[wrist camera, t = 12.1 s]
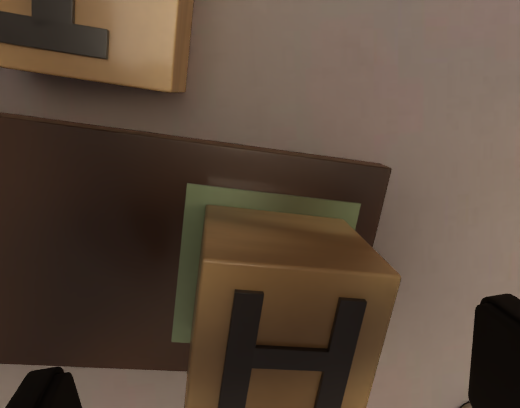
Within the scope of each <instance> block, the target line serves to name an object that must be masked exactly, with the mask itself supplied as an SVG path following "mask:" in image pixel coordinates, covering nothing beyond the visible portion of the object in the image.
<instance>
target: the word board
mask: <svg viewBox="0 0 520 408" xmlns="http://www.w3.org/2000/svg"><path fill="white" fill-rule="evenodd" d="M390 174H391V168H389V167H387V166H385V165H382V164H380V163H373V162H365V161H358V160H350V159H343V158H336V157H328V156H321V155H313V154H306V153H298V152H291V151H283V150H276V149H269V148H261V147H254V146H246V145H239V144H231V143H224V142H217V141H209V140H202V139H194V138H187V137H179V136H172V135H164V134H157V133H150V132H142V131H135V130H127V129H120V128H112V127H105V126H97V125H90V124H83V123H75V122H68V121H60V120H53V119H45V118H38V117H31V116H23V115H16V114H8V113H1V112H0V364H22V365H46V366H70V367H94V368H118V369H142V370H167V371H188V361H189V350H190V339H191V329H192V320H193V311H194V303H195V294H196V285H197V276H198V268H199V259H200V250H201V242H202V233H203V224H204V215H205V207H206V205H217V206H226V207H235V208H244V209H254V210H263V211H272V212H281V213H290V214H300V215H309V216H318V217H327V218H336V219H343V220H345V221H346V222H347V223H348V224H349V225H350V226H351V227H352V228H353V229H354V230H355V231H356V232H357V233H358V234H359V235H360V236H361V237H362V238H363V239H364V240H365V241H366V242H367V243H368V244H369V245H370V246H371V247H373V243H374V239H375V235H376V231H377V227H378V223H379V219H380V215H381V210H382V206H383V202H384V198H385V194H386V190H387V186H388V182H389V178H390Z"/></svg>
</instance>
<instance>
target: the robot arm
mask: <svg viewBox="0 0 520 408" xmlns="http://www.w3.org/2000/svg"><path fill="white" fill-rule="evenodd" d="M468 396H469V401H470V404H471V406H472V408H520V299H518V298H517V297H515V296H513V295H511V294H502V295H496V296H489V297H485V298H483V299H482V300H481V303H480V305H478V306H477V307H476V310H475V319H474V331H473V344H472V356H471V368H470V380H469V392H468ZM6 408H82V406H81V402H80V399H79V396H78V392H77V389H76V386H75V383H74V379H73V376H72V374H71V373H70V372H66V373H64V371H63V369H62V368H61V367H53V368H47V369H40V370H34V371H31V372H29V373H28V374H27V375H26V377H25V378H24V380H23V381H22V383H21V384H20V386H19V387H18V389H17V391H16V392H15V394H14V395H13V397H12V398H11V400H10V401H9V403H8V404H7V406H6Z"/></svg>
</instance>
